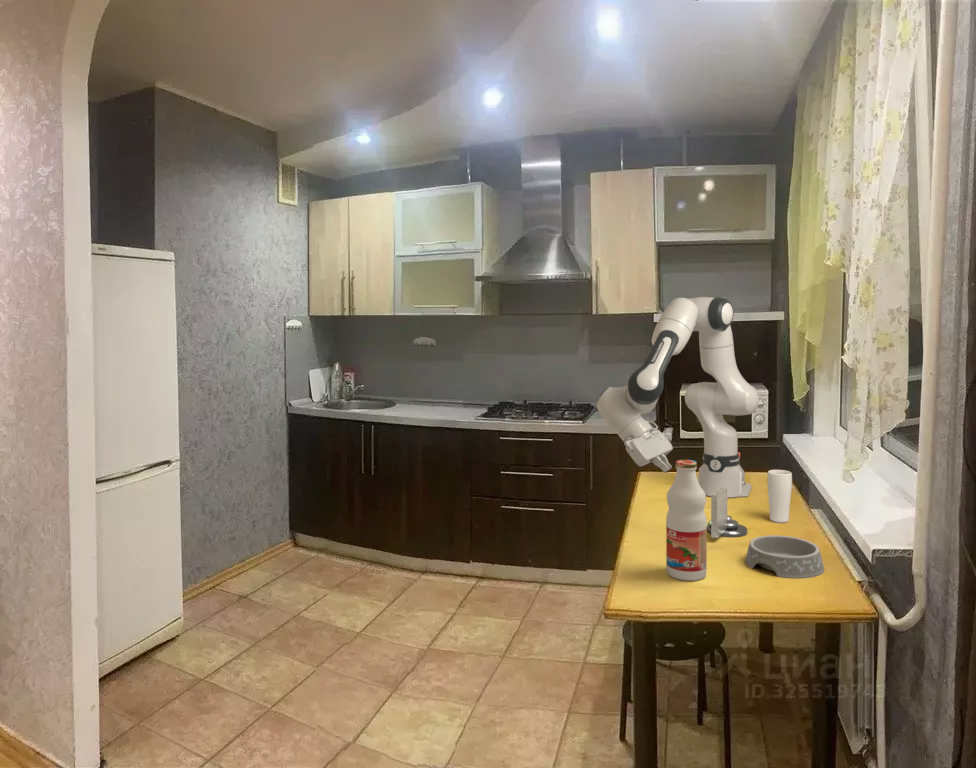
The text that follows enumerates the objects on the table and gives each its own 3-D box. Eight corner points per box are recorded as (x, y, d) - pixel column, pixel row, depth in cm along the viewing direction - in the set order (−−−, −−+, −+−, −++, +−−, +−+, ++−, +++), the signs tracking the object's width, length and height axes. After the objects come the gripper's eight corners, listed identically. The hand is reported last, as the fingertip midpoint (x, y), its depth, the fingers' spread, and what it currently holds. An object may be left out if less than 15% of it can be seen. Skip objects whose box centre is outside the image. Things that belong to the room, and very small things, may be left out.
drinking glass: (795, 523, 201) (796, 474, 199) (772, 524, 201) (773, 475, 199) (785, 517, 207) (785, 469, 206) (763, 517, 207) (763, 469, 206)
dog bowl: (800, 585, 156) (801, 563, 156) (731, 563, 171) (731, 543, 171) (837, 568, 166) (838, 546, 166) (768, 548, 181) (769, 529, 181)
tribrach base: (714, 523, 203) (714, 515, 203) (752, 529, 197) (752, 521, 197) (701, 533, 195) (701, 525, 194) (740, 539, 188) (740, 531, 188)
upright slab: (720, 522, 200) (720, 482, 199) (740, 525, 196) (741, 485, 195) (703, 535, 188) (703, 493, 187) (725, 539, 185) (725, 496, 184)
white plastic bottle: (715, 577, 162) (715, 462, 159) (683, 584, 158) (683, 467, 155) (688, 564, 170) (688, 456, 168) (658, 571, 167) (657, 460, 164)
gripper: (628, 432, 191) (661, 470, 186) (657, 422, 207) (688, 456, 202) (614, 446, 194) (646, 484, 189) (643, 435, 210) (674, 469, 205)
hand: (668, 469), depth 196 cm, fingers closed
